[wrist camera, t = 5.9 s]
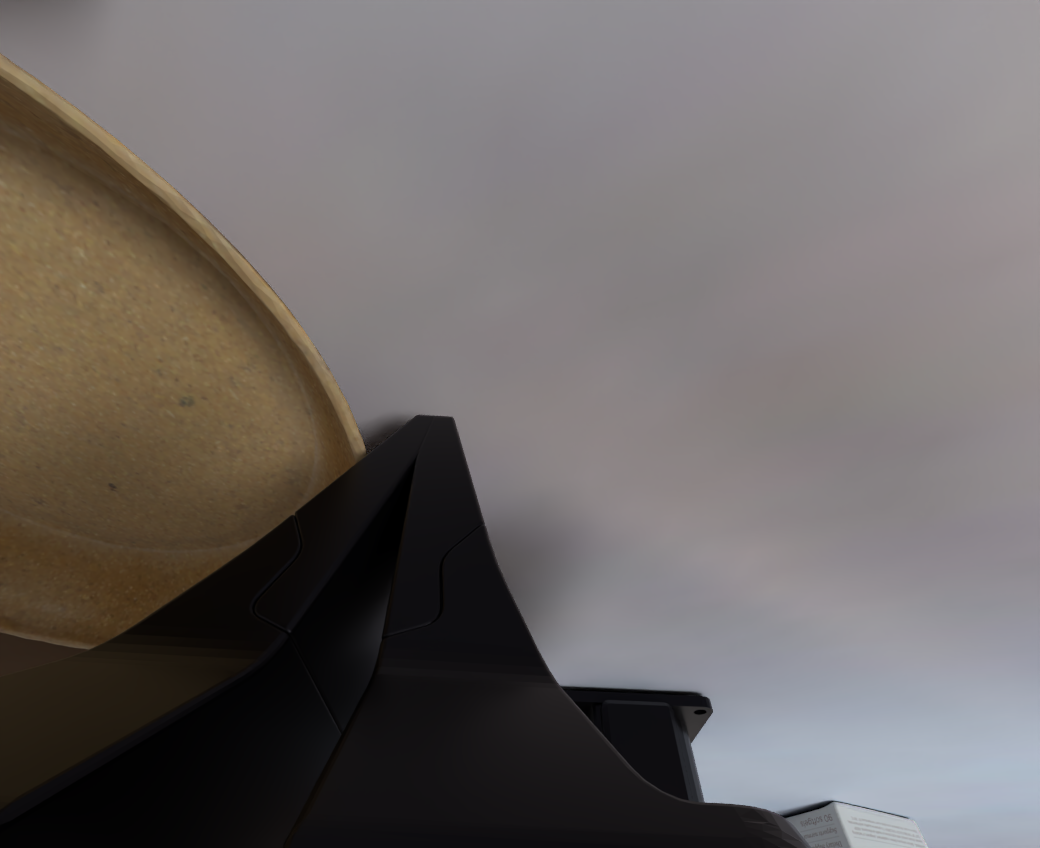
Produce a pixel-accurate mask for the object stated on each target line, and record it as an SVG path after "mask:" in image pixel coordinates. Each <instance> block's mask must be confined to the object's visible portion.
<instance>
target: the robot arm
mask: <svg viewBox="0 0 1040 848" xmlns="http://www.w3.org/2000/svg"><path fill="white" fill-rule="evenodd" d="M294 514H295V516H294V515H290V516H289V517H288V518H286V519H285V520H284V521H283V522H281V523H280V524H279V525H277V526H276V527H275V528H274V529H272V530H271V531H270V532H268V533H267V534H266V535H264V536H263V537H262V538H260V539H259V540H258V541H257V542H255V543H254V544H253V545H251V546H250V547H249V548H247V549H246V550H244V551H243V552H241V553H240V554H239V555H237V556H236V557H234V558H233V559H231V560H230V561H229V562H227V563H226V564H224V565H223V566H221V567H220V568H219V569H217V570H216V571H214V572H213V573H211V574H210V575H208V576H207V577H205V578H204V579H202V580H201V581H199V582H198V583H196V584H195V585H193V586H192V587H190V588H189V589H187V590H186V591H184V592H183V593H181V594H180V595H178V596H177V597H175V598H174V599H172V600H171V601H169V602H168V603H166V604H165V605H163V606H162V607H160V608H159V609H157V610H156V611H154V612H153V613H151V614H150V615H148V616H147V617H145V618H144V619H142V620H141V621H139V622H138V623H136V624H135V625H133V626H132V627H130V628H129V629H127V630H125V631H124V632H122V633H121V634H119V635H117V636H115V637H113V638H111V639H110V640H108V641H106V642H104V643H102V644H100V645H98V646H95V647H93V648H91V649H89V650H87V651H84V652H81V653H78V654H76V655H73V656H70V657H67V658H64V659H61V660H58V661H54V662H51V663H47V664H43V665H40V666H36V667H33V668H29V669H25V670H22V671H18V672H15V673H11V674H7V675H4V676H0V848H811V846H810V845H809V844H808V843H807V841H806V840H805V839H804V838H803V836H802V835H801V834H800V833H799V831H798V830H797V829H796V828H795V826H794V825H793V824H792V823H791V822H789V821H788V820H787V819H785V818H784V817H782V816H781V815H779V814H777V813H774V812H771V811H768V810H766V809H761V808H757V807H752V806H745V805H735V804H721V803H705V802H704V798H703V794H702V790H701V785H700V781H699V777H698V773H697V768H696V764H695V760H694V756H693V751H692V747H691V743H692V741H693V740H694V738H695V737H696V735H697V734H698V733H699V731H700V730H701V728H702V727H703V726H704V724H705V723H706V721H707V720H708V718H709V717H710V716H711V714H712V713H713V709H712V706H711V702H710V699H709V698H707V697H703V696H686V695H663V694H640V693H617V692H594V691H571V690H563V689H562V688H561V687H560V685H559V684H558V683H557V681H556V680H555V678H554V677H553V675H552V673H551V672H550V670H549V669H548V667H547V665H546V663H545V661H544V660H543V658H542V656H541V654H540V652H539V650H538V648H537V646H536V644H535V642H534V640H533V638H532V636H531V634H530V632H529V630H528V628H527V626H526V624H525V621H524V619H523V617H522V615H521V613H520V611H519V609H518V607H517V605H516V603H515V601H514V599H513V597H512V595H511V593H510V591H509V588H508V586H507V584H506V582H505V579H504V577H503V575H502V572H501V570H500V568H499V565H498V563H497V560H496V557H495V554H494V551H493V549H492V546H491V543H490V540H489V536H488V533H487V529H486V526H485V523H484V520H483V516H482V513H481V509H480V506H479V503H478V499H477V496H476V492H475V489H474V485H473V482H472V479H471V475H470V472H469V468H468V465H467V462H466V458H465V455H464V451H463V448H462V444H461V441H460V438H459V434H458V431H457V427H456V424H455V420H454V418H453V417H449V416H430V415H417V416H415V417H414V418H413V419H411V420H410V421H409V422H407V423H406V424H405V425H404V426H402V427H401V428H400V429H399V430H397V431H396V432H395V433H394V434H392V435H391V436H390V437H389V438H387V439H386V440H385V441H384V442H382V443H381V444H380V445H379V446H377V447H376V448H375V449H373V450H372V451H371V452H370V453H368V454H367V455H366V456H365V457H363V458H362V459H361V460H360V461H358V462H357V463H356V464H355V465H353V466H352V467H351V468H350V469H348V470H347V471H346V472H345V473H343V474H342V475H341V476H339V477H338V478H337V479H336V480H334V481H333V482H332V483H331V484H329V485H328V486H327V487H326V488H324V489H323V490H322V491H321V492H319V493H318V494H317V495H316V496H314V497H313V498H312V499H310V500H309V501H308V502H307V503H305V504H304V505H303V506H302V507H300V508H299V509H298V510H297V511H295V513H294Z"/></svg>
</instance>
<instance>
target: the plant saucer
mask: <svg viewBox="0 0 1040 848" xmlns="http://www.w3.org/2000/svg"><path fill="white" fill-rule="evenodd" d="M366 455H367V452H366V448H365V445H364V442H363V439H362V437H361V434H360V432H359V429H358V427H357V424H356V422H355V419H354V417H353V414H352V412H351V410H350V407H349V405H348V403H347V401H346V399H345V397H344V396H343V394H342V392H341V390H340V388H339V386H338V384H337V382H336V380H335V379H334V377H333V375H332V373H331V371H330V370H329V368H328V366H327V365H326V363H325V361H324V360H323V358H322V356H321V355H320V353H319V352H318V350H317V349H316V347H315V346H314V344H313V343H312V342H311V340H310V339H309V337H308V336H307V334H306V333H305V331H304V330H303V328H302V327H301V325H300V324H299V323H298V321H297V320H296V318H295V317H294V316H293V314H292V313H291V312H290V310H289V309H288V308H287V307H286V305H285V304H284V303H283V302H282V300H281V299H280V298H279V297H278V295H277V294H276V293H275V292H274V291H273V289H272V288H271V287H270V286H269V285H268V283H267V282H266V281H265V280H264V279H263V278H262V277H261V276H260V274H259V273H258V272H257V271H256V270H255V269H254V268H253V266H252V265H251V264H250V263H249V262H248V261H247V260H246V259H245V257H244V256H243V255H242V254H241V253H240V252H239V251H238V250H237V249H236V248H235V247H234V246H233V245H232V244H231V243H230V242H229V241H228V240H227V239H226V238H225V237H224V236H223V235H222V234H221V233H220V232H219V231H218V230H217V229H216V228H215V227H214V226H213V225H212V224H211V223H210V222H209V221H208V220H207V219H206V218H205V217H204V216H203V215H202V214H201V213H200V212H199V211H198V210H197V209H196V208H195V207H194V206H193V205H192V204H190V203H189V202H188V201H187V200H186V199H185V198H184V197H183V196H182V195H181V194H180V193H179V192H178V191H177V190H176V189H174V188H173V187H172V186H171V185H170V184H169V183H168V182H166V181H165V180H164V179H163V178H162V177H161V176H160V175H158V174H157V173H156V172H155V171H154V170H153V169H151V168H150V167H149V166H148V165H147V164H146V163H144V162H143V161H142V160H141V159H140V158H139V157H137V156H136V155H135V154H134V153H133V152H131V151H130V150H129V149H128V148H127V147H125V146H124V145H123V144H122V143H121V142H120V141H118V140H117V139H116V138H115V137H113V136H112V135H111V134H109V133H108V132H107V131H106V130H104V129H103V128H102V127H100V126H99V125H98V124H97V123H95V122H94V121H93V120H91V119H90V118H89V117H88V116H86V115H85V114H84V113H82V112H81V111H80V110H79V109H77V108H76V107H75V106H73V105H72V104H71V103H69V102H68V101H66V100H65V99H64V98H62V97H61V96H60V95H58V94H57V93H56V92H54V91H53V90H51V89H50V88H49V87H47V86H46V85H45V84H43V83H42V82H40V81H39V80H38V79H36V78H35V77H34V76H32V75H30V74H29V73H27V72H26V71H24V70H23V69H21V68H20V67H18V66H17V65H15V64H14V63H13V62H11V61H10V60H9V59H8V58H6V57H5V56H4V55H2V54H1V53H0V632H1V633H6V634H10V635H14V636H18V637H21V638H25V639H31V640H38V641H44V642H47V643H52V644H57V645H63V646H68V647H74V648H83V649H91V648H93V647H95V646H98V645H100V644H102V643H104V642H106V641H108V640H110V639H111V638H113V637H115V636H117V635H119V634H121V633H122V632H124V631H125V630H127V629H129V628H130V627H132V626H133V625H135V624H136V623H138V622H139V621H141V620H142V619H144V618H145V617H147V616H148V615H150V614H151V613H153V612H154V611H156V610H157V609H159V608H160V607H162V606H163V605H165V604H166V603H168V602H169V601H171V600H172V599H174V598H175V597H177V596H178V595H180V594H181V593H183V592H184V591H186V590H187V589H189V588H190V587H192V586H193V585H195V584H196V583H198V582H199V581H201V580H202V579H204V578H205V577H207V576H208V575H210V574H211V573H213V572H214V571H216V570H217V569H219V568H220V567H221V566H223V565H224V564H226V563H227V562H229V561H230V560H231V559H233V558H234V557H236V556H237V555H239V554H240V553H241V552H243V551H244V550H246V549H247V548H249V547H250V546H251V545H253V544H254V543H255V542H257V541H258V540H259V539H260V538H262V537H263V536H264V535H266V534H267V533H268V532H270V531H271V530H272V529H274V528H275V527H276V526H277V525H279V524H280V523H281V522H283V521H284V520H285V519H286V518H288V517H289V516H290V515H294V516H295V514H294V513H295V511H297V510H298V509H299V508H300V507H302V506H303V505H304V504H305V503H307V502H308V501H309V500H310V499H312V498H313V497H314V496H316V495H317V494H318V493H319V492H321V491H322V490H323V489H324V488H326V487H327V486H328V485H329V484H331V483H332V482H333V481H334V480H336V479H337V478H338V477H339V476H341V475H342V474H343V473H345V472H346V471H347V470H348V469H350V468H351V467H352V466H353V465H355V464H356V463H357V462H358V461H360V460H361V459H362V458H363V457H365V456H366Z"/></svg>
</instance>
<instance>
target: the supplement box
mask: <svg viewBox="0 0 1040 848" xmlns="http://www.w3.org/2000/svg"><path fill="white" fill-rule="evenodd" d="M785 819H787V820H788V821H789V822H791V823H792V824H793V825H794V826H795V828H796V829H797V830H798V831H799V833H800V834H801V835H802V836H803V838H804V839H805V840H806V841H807V843H808V844H809V845H810V846H811V848H928V846H927V844H926V842H925V840H924V838H923V836H922V834H921V832H920V830H919V828H918V826H917V824H916V822H915V821H913V820H910V819H907V818H903V817H899V816H895V815H890V814H887V813H883V812H878V811H874V810H870V809H866V808H862V807H857V806H852V805H849V804H845V803H839V802H832V803H830V804H829V805H827V806H825V807H824V808H821V809H818V810H814V811H811V812H807V813H803V814H799V815H796V816H792V817H788V818H785Z"/></svg>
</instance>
